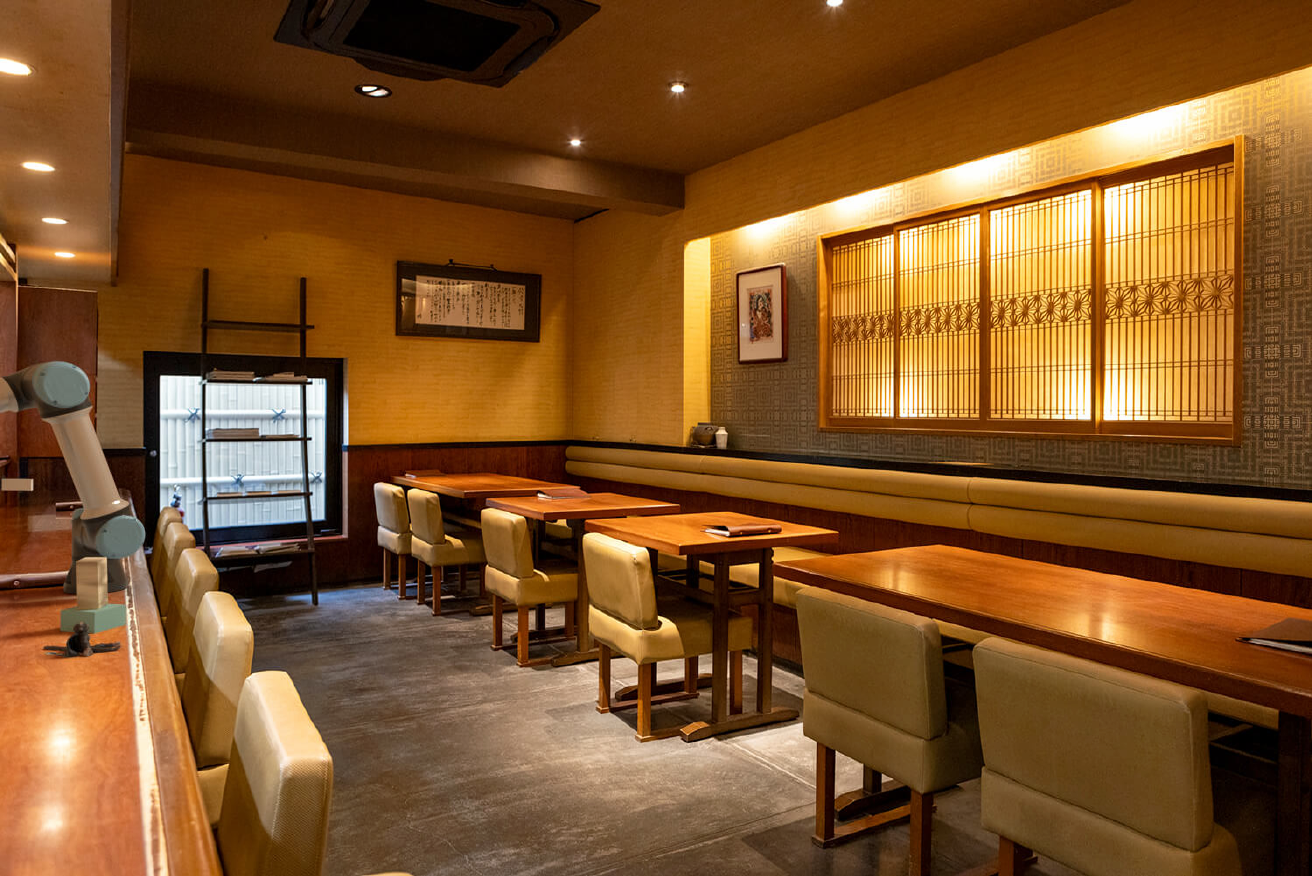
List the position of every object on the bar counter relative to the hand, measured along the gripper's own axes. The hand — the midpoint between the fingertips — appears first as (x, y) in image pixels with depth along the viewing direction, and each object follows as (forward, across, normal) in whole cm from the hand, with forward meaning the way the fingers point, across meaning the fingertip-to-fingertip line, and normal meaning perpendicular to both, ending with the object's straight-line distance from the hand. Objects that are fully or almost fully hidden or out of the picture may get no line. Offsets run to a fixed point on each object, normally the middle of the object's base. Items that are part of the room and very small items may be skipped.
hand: (15, 486), depth 203 cm
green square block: (+19, +3, -32) cm, 38 cm away
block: (+18, +3, -27) cm, 33 cm away
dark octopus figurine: (+26, +24, -33) cm, 48 cm away
